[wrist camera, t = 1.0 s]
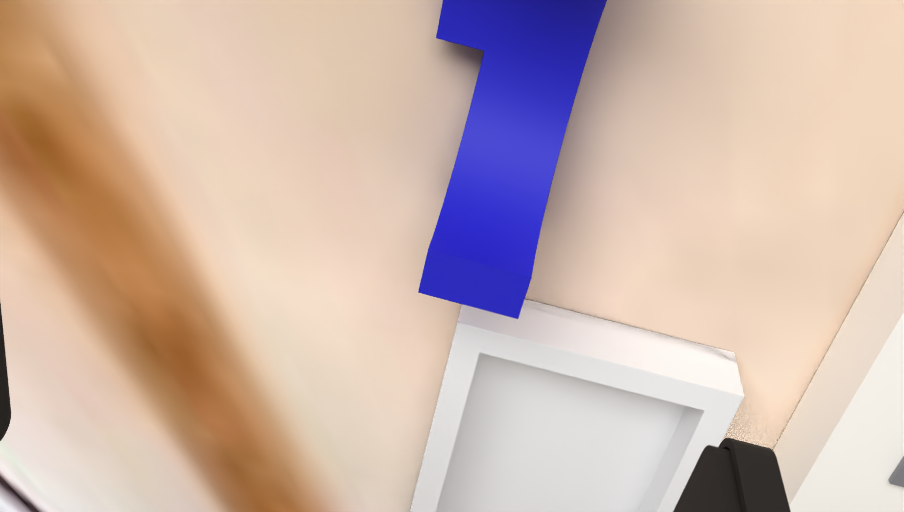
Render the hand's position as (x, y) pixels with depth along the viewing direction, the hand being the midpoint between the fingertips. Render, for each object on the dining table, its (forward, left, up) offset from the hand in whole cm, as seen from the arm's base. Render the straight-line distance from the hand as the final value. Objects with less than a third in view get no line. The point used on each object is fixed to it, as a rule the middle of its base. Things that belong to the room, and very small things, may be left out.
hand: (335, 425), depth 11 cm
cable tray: (-6, +18, -18) cm, 26 cm away
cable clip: (-1, 0, -18) cm, 18 cm away
